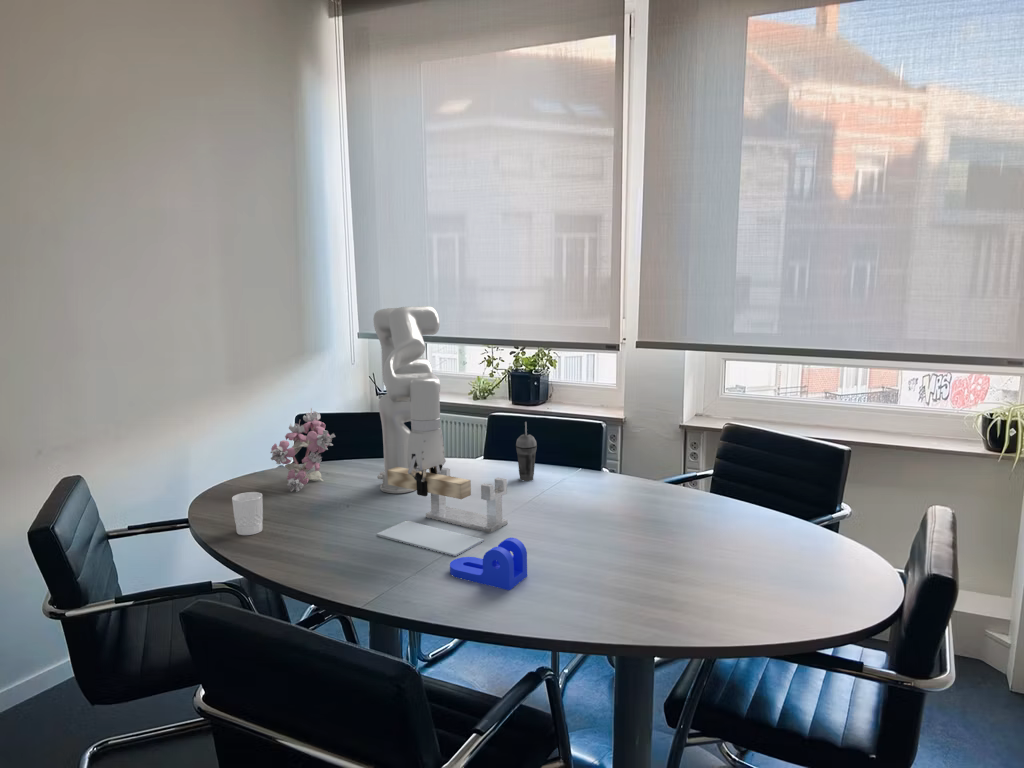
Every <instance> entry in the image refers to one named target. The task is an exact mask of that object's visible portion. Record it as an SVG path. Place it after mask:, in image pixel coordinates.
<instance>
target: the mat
mask: <svg viewBox="0 0 1024 768" xmlns="http://www.w3.org/2000/svg"><path fill="white" fill-rule="evenodd" d="M376 537H380V538H383V539H388V540H391V541H395V542H398V541H399V543H402V542H403V544H407V545H409V544H410V546H413V545H414V547H417V546H418V548H421V547H422V548H421V549H424V548H426V549H425V550H428V549H430V550H429V551H432V550H433V552H436V551H437V552H436V553H439V552H441V553H440V554H443V553H445V554H444V555H447V554H449V555H448V556H451V555H453V556H452V557H454V556H456V557H458V556H460V555H462V554H463V552H464V551H466V550H467V551H469V550H470V548H471V549H473V548H474V546H475V547H476V546H478V545H481V544H482V543H484V542H485V539H484V538H481V537H476V536H472V535H468V534H463V533H460V532H456V531H451V530H447V529H444V528H440V527H435V526H431V525H425V524H423V523H420V522H419V523H418V522H415V521H410V520H405V521H402V522H400V523H398V524H395V525H393V526H390V527H388V528H386V529H383V530H382V531H380V532H377V533H376ZM483 541H484V542H483ZM481 542H482V543H481ZM472 547H473V548H472ZM468 549H469V550H468ZM467 551H466V552H467ZM461 553H462V554H461ZM464 553H465V552H464ZM459 554H460V555H459ZM457 555H458V556H457Z"/></svg>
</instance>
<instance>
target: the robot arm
mask: <svg viewBox="0 0 1024 768" xmlns="http://www.w3.org/2000/svg"><path fill="white" fill-rule="evenodd" d="M373 326H374V331H375V333H376V336H377V338H378V341H379V343H380V347H381V348H380V349H381V369H382V372H381V373H382V383H383V385H384V386H385V389H386V394H383V395H382V396H381V397H380V398H379V400H378V410H379V416H380V421H381V429H382V444H383V445H382V446H383V447H382V448H383V467H384V468H383V469H384V471H380V472H379V474H378V475H377V480H382V483H381V484H380V488H379V489H380V490H381V492H383V493H387V494H405V493H406V494H407V493H412V492H414V491H415V490H413V489H408V488H403V487H398V486H393V485H388V474H387V470H389V469H392V468H395V467H402V468H407V469H409V470H408V474H410V475H411V476H413V477H414V478H415V480H416V482H417V490H416V495H418V496H421V497H427V496H428V493H427V481H425V480H426V472H427V470H428V471H429V473H435V474H440V471H441V469H442V467H443V466H444V465H445V464H446V461H447V460H446V458H445V446H444V445H445V444H444V438H443V431H442V428H441V405H440V404H441V402H440V392H441V381H440V378H439V377H438V376H437V375H436V373H434V370H433V366H432V364H431V362H430V360H428V359H427V358H423V357H422V356H423V355H424V353H425V350H426V345H425V340H424V337H423V336H434V335H437V333H438V332H439V329H440V316H439V314H438V312H437V310H436V308H434V307H433V306H430V305H429V306H428V305H426V306H423V305H421V306H420V305H416V306H401V307H388V308H387V307H386V308H382V309H379V310H377V311H376V312H374V314H373ZM407 422H410V426H411V429H410V428H409V427H408V426H407V425H406V424H405V423H407ZM420 472H422V474H420Z"/></svg>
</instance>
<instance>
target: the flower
mask: <svg viewBox="0 0 1024 768" xmlns="http://www.w3.org/2000/svg"><path fill="white" fill-rule="evenodd" d="M312 410H313V407H310V412H306V413H305V414H304V415H303V416H302V419H303V421H304V422H305V423H304V424H300V423H301V419H299V421H298V423H294V425H292V424H291V423H290V424H289V427H288V430H289V431H291V432H287V433H286V434H285V435H284V438H285V440H284V439H283V440H280V441H279V444H278V445H277V443H274V444H273V445H272V447H271V448H270V449H271V451H270V454H272V455H271V456H272V457H270V460H271V461H275V464H277V465H284V466H285V468H287V470H288V473H287V477H286V480H287V482H288V483H287V485H286V487H288V490H289V489H290V490H289V491H290V492H293V491H294V490H295V493H297V492H300V490H302V489H303V487H304V486H305V485H307V484H308V483H309V481H310V480H311V481H319V480H320V481H322V482H324V479H323V478H322V473H321V472H320V471H319V470H320V469H321V467H320V466H321V462H322V458H323V456H322V453H324V452H325V451H328V450H329V449H328V447H332V446H334V444H333V443H332V442H333V441H332V440H333V438H336V435H335V433H331V434H330V433H329V431H328V430H325V429H326V424H325V423H324V422H322V421H320V420H321V414H320V412H317V411H314V410H313V411H312ZM309 430H310V431H309ZM303 433H304V434H307V435H304V434H303ZM288 440H289V441H290V442H291V441H293V445H292V446H291V447H289V446H290V442H289V441H288ZM302 448H306V451H305V456H304V457H303V458H302V459H301V463H302V467H301V465H300V464H299V461H298V460H297V458H296V457H295V455H297V454H298V453H299V452H300V450H301V449H302ZM289 458H292V460H293V462H292V460H291V459H289ZM313 468H314V471H311V469H313ZM309 471H311V472H309ZM308 472H309V473H308Z"/></svg>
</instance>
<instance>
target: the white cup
mask: <svg viewBox="0 0 1024 768" xmlns="http://www.w3.org/2000/svg"><path fill="white" fill-rule="evenodd" d="M263 501H264V500H263V493H261V492H259V491H258V492H257V491H249V492H242V493H237V494H235V495H233V496H232V497H231V503H232V509H233V517H234V522H235V528H236V533H237V534H238V535H239V536H252V535H257V534H259V533H261V532H262V531H263V529H264V528H263V520H264V518H263V517H264V512H263V511H264V509H263V508H264V507H263V506H264V505H263Z"/></svg>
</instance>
